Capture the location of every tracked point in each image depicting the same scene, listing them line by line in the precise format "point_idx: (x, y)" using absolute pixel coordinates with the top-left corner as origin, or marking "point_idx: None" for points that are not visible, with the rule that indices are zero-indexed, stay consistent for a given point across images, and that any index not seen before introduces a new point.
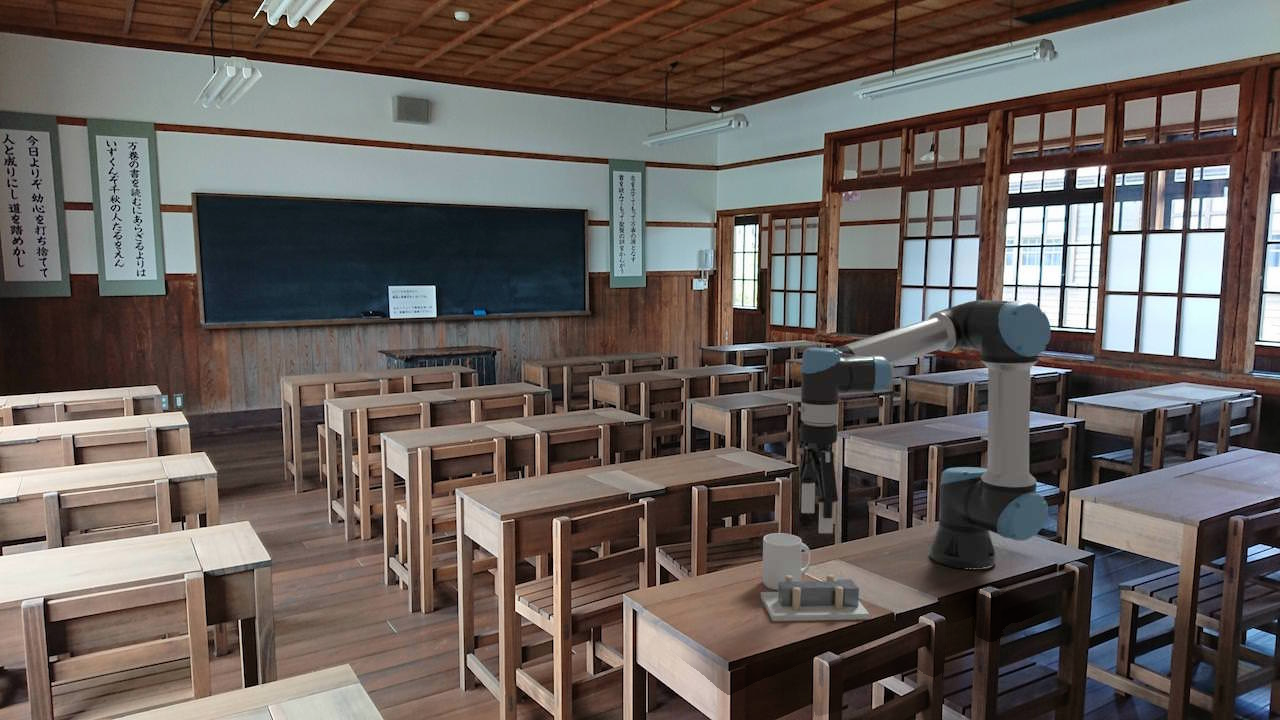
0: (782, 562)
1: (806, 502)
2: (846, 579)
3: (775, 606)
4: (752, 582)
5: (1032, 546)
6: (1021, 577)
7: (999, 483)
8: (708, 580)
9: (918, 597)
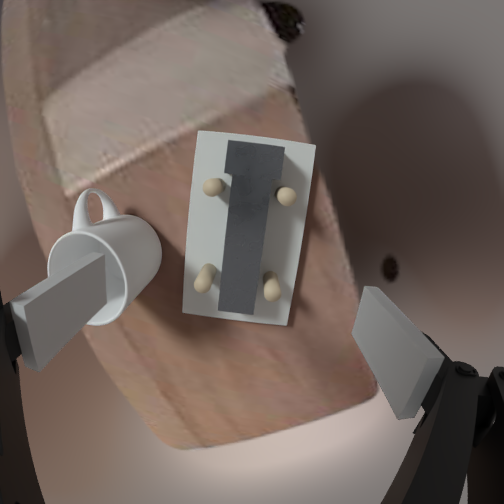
0: (143, 282)
1: (84, 305)
2: (227, 151)
3: None
4: None
5: None
6: None
7: None
8: (113, 359)
9: (233, 17)
